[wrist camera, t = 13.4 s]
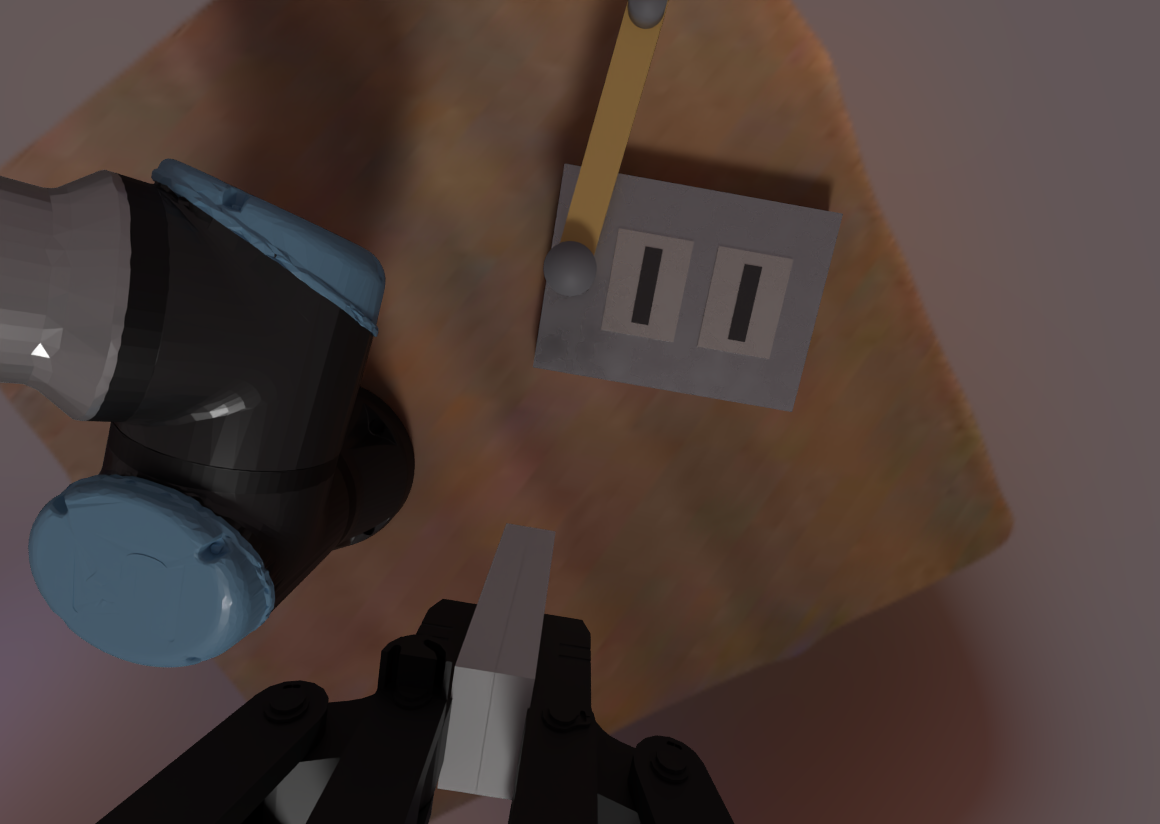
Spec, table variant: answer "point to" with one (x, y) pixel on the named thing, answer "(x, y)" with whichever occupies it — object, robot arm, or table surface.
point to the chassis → (693, 293)
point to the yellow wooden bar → (605, 149)
